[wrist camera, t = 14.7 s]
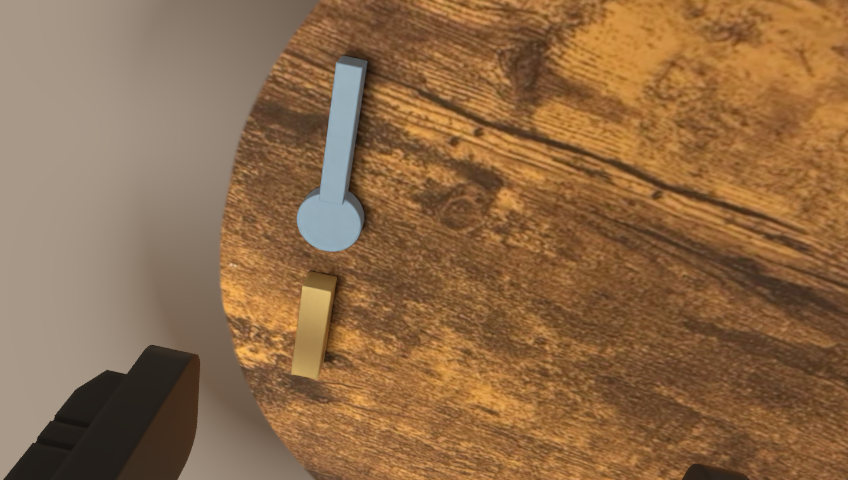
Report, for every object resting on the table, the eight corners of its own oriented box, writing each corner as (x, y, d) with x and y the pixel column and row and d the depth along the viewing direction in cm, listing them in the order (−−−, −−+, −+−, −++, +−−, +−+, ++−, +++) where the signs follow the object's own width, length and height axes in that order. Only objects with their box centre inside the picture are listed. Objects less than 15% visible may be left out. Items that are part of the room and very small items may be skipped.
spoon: (319, 50, 37) (312, 57, 35) (390, 65, 37) (386, 72, 35) (298, 235, 42) (291, 247, 41) (359, 248, 42) (355, 261, 41)
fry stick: (309, 270, 43) (302, 285, 42) (337, 276, 43) (331, 291, 42) (297, 357, 47) (290, 374, 45) (323, 362, 47) (317, 380, 45)
